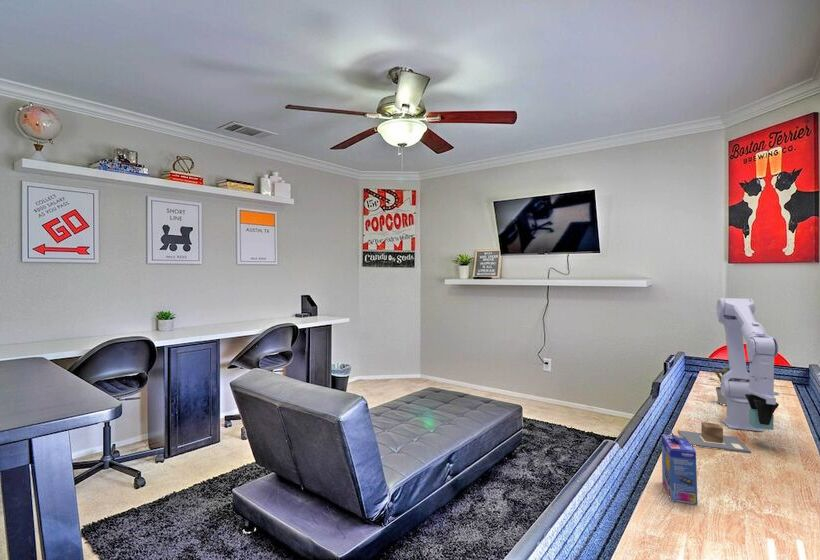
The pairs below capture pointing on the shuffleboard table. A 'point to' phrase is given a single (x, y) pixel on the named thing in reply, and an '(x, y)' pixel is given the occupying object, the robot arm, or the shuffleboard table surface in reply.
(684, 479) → the ink cartridge box
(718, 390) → the house plant
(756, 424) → the teal block
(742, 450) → the board
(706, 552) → the shuffleboard table surface
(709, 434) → the walnut block
